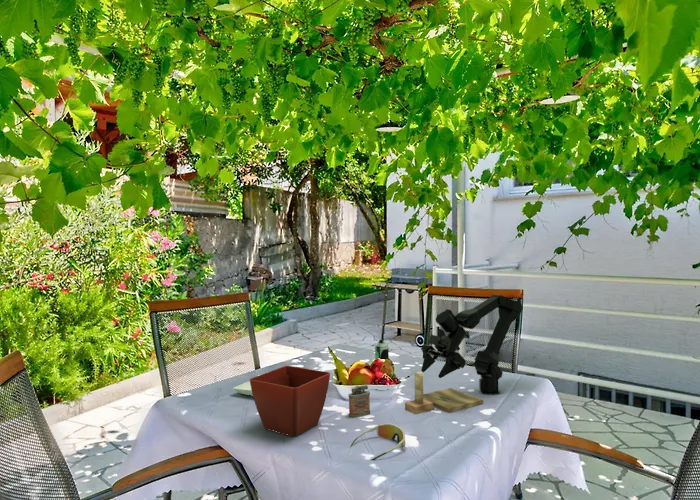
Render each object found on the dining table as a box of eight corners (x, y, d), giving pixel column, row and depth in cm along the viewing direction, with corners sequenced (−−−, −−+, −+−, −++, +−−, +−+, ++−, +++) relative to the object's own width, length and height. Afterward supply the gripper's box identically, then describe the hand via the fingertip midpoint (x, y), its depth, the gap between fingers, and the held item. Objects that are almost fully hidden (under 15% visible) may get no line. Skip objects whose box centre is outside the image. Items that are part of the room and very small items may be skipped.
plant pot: (296, 444, 143) (295, 387, 143) (248, 431, 153) (247, 378, 153) (332, 423, 160) (331, 372, 159) (287, 412, 170) (286, 365, 169)
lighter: (351, 418, 163) (351, 389, 163) (347, 415, 166) (346, 386, 166) (372, 414, 167) (371, 385, 167) (367, 411, 170) (366, 383, 170)
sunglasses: (415, 448, 139) (413, 432, 138) (375, 471, 130) (373, 453, 130) (384, 433, 150) (382, 418, 150) (345, 453, 142) (343, 437, 141)
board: (450, 391, 190) (450, 387, 190) (483, 403, 176) (483, 399, 176) (417, 399, 181) (417, 395, 181) (448, 413, 167) (448, 408, 167)
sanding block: (422, 405, 176) (421, 369, 175) (433, 409, 171) (432, 373, 170) (405, 409, 171) (404, 373, 171) (415, 414, 166) (415, 376, 166)
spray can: (388, 390, 193) (387, 340, 193) (374, 390, 194) (373, 340, 194) (389, 386, 198) (389, 338, 198) (376, 386, 199) (375, 337, 199)
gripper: (424, 323, 184) (401, 355, 179) (459, 330, 168) (435, 366, 163) (440, 341, 188) (418, 373, 183) (475, 350, 173) (453, 385, 167)
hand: (430, 374), depth 174 cm, fingers open, 9 cm apart
